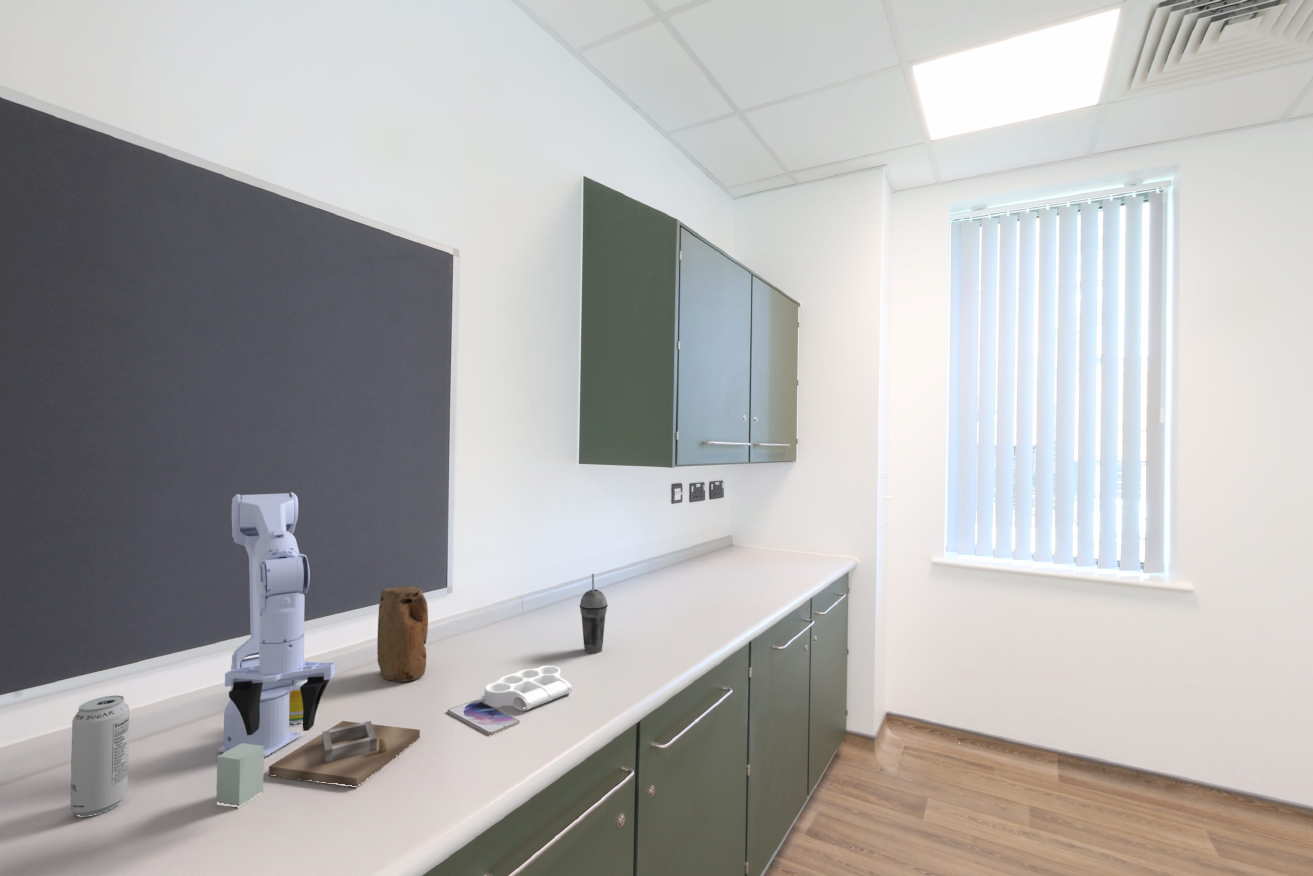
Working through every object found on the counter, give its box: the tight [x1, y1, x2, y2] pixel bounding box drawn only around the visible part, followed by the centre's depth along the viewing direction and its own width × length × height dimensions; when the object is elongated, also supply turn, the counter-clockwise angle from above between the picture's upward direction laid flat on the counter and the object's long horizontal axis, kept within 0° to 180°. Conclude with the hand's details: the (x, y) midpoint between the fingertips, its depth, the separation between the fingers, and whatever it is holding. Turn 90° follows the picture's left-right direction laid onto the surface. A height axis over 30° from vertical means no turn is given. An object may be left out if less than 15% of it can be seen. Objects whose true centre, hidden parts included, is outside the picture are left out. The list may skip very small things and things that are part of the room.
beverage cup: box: [579, 573, 608, 654], centre depth 152 cm, size 7×7×20 cm
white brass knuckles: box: [484, 665, 573, 712], centre depth 125 cm, size 3×18×15 cm
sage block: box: [215, 743, 265, 806], centre depth 87 cm, size 4×4×7 cm
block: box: [376, 585, 429, 683], centre depth 135 cm, size 11×8×20 cm
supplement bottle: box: [289, 680, 317, 725], centre depth 113 cm, size 5×5×10 cm
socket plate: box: [268, 720, 421, 786], centre depth 100 cm, size 16×16×4 cm
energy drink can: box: [69, 694, 130, 816], centre depth 85 cm, size 6×6×15 cm
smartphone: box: [446, 699, 521, 736], centre depth 114 cm, size 7×1×15 cm
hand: (280, 730), depth 88 cm, fingers open, 7 cm apart
